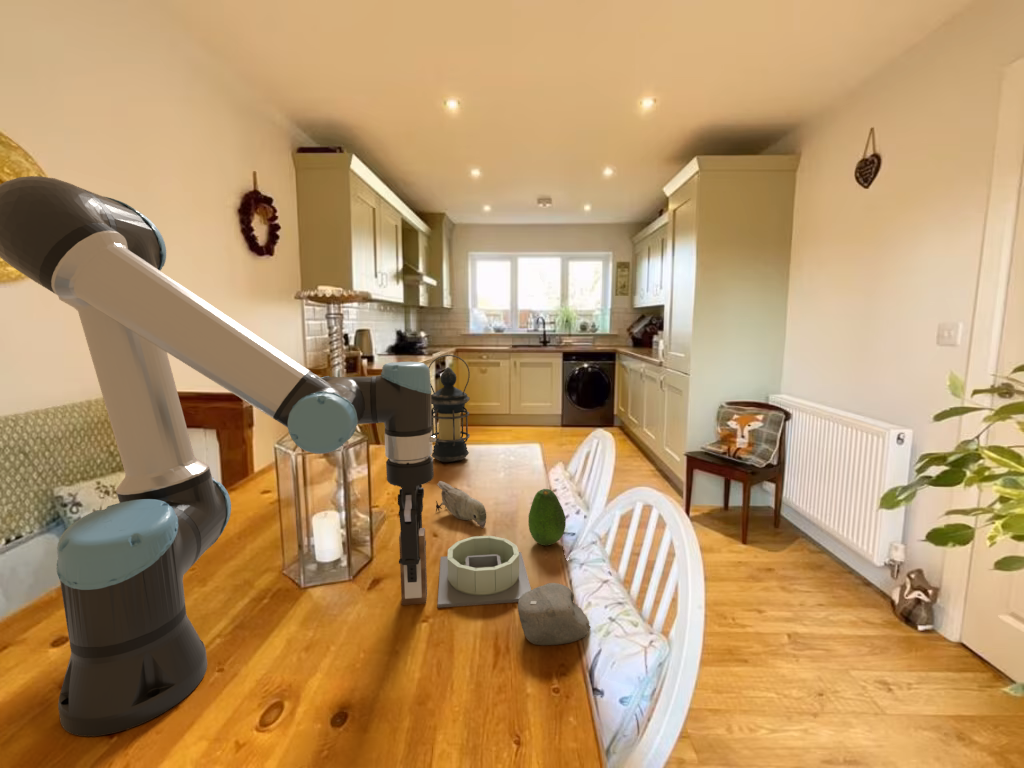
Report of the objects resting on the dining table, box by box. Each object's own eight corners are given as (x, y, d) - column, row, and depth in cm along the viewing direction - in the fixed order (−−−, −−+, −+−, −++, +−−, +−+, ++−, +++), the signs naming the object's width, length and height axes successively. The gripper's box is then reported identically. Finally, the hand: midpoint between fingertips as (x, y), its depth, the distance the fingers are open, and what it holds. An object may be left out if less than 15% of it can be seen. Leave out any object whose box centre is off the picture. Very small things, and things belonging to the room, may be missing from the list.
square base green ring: (533, 600, 82) (533, 572, 81) (437, 607, 80) (436, 578, 79) (521, 554, 98) (521, 530, 97) (440, 559, 96) (440, 534, 95)
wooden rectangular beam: (426, 603, 81) (423, 535, 80) (401, 604, 81) (399, 537, 79) (427, 593, 84) (425, 527, 83) (403, 594, 84) (401, 529, 82)
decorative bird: (475, 533, 108) (474, 501, 107) (431, 513, 119) (430, 483, 118) (492, 525, 112) (492, 494, 111) (449, 506, 123) (448, 478, 122)
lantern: (423, 464, 157) (419, 356, 152) (436, 453, 169) (433, 353, 165) (466, 466, 154) (464, 357, 149) (475, 455, 167) (474, 353, 162)
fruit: (520, 544, 102) (520, 489, 100) (544, 532, 108) (544, 480, 106) (549, 557, 97) (550, 499, 95) (573, 543, 102) (573, 488, 101)
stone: (599, 648, 70) (568, 593, 69) (545, 677, 70) (513, 622, 69) (585, 611, 79) (558, 561, 77) (537, 637, 79) (509, 587, 77)
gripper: (430, 471, 72) (434, 618, 75) (435, 443, 87) (438, 565, 91) (378, 473, 71) (384, 621, 74) (392, 444, 87) (397, 567, 90)
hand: (414, 590), depth 82 cm, fingers closed on wooden rectangular beam, 3 cm apart
